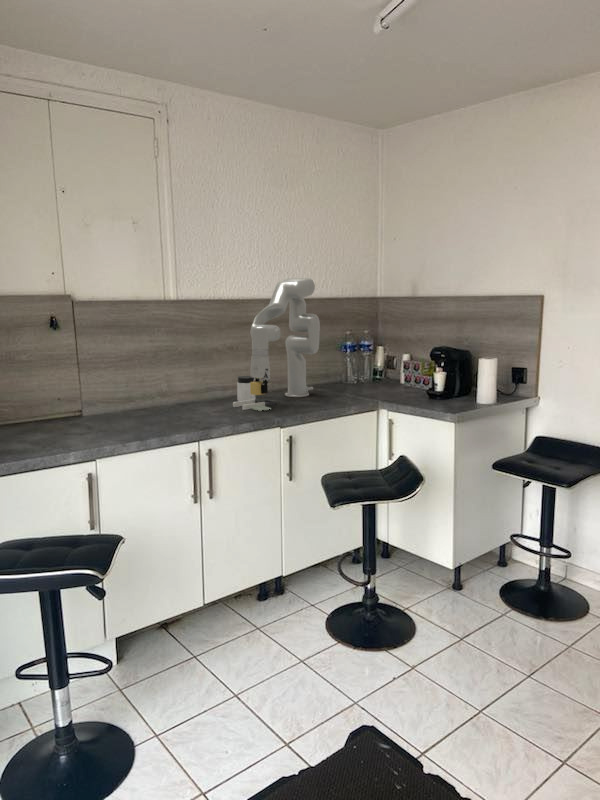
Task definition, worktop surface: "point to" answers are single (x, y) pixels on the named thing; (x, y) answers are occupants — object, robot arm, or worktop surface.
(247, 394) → the jar
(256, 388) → the block
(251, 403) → the channel
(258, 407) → the coaster
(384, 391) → the worktop surface
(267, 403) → the tray
